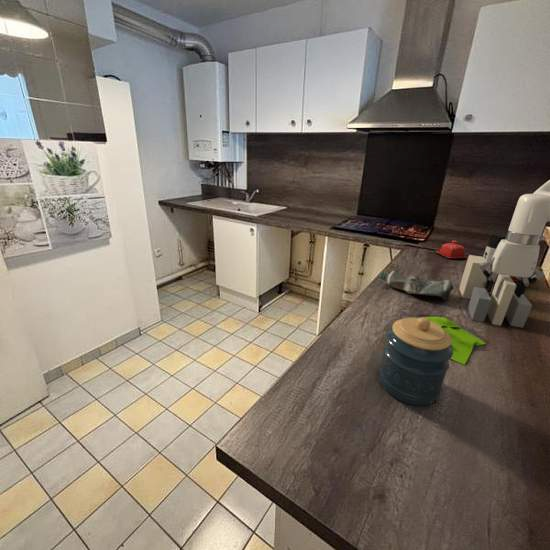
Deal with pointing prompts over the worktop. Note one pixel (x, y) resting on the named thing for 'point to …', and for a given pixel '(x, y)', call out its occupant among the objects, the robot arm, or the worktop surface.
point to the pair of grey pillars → (514, 313)
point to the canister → (415, 360)
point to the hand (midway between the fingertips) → (502, 292)
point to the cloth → (458, 339)
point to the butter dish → (452, 250)
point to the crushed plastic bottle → (418, 285)
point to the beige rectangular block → (472, 276)
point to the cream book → (500, 299)
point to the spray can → (492, 248)
